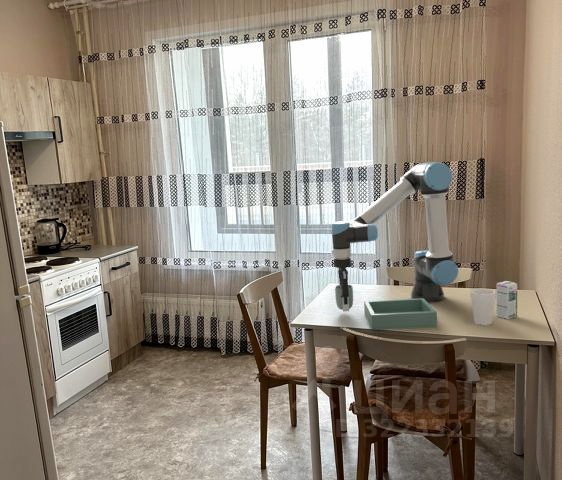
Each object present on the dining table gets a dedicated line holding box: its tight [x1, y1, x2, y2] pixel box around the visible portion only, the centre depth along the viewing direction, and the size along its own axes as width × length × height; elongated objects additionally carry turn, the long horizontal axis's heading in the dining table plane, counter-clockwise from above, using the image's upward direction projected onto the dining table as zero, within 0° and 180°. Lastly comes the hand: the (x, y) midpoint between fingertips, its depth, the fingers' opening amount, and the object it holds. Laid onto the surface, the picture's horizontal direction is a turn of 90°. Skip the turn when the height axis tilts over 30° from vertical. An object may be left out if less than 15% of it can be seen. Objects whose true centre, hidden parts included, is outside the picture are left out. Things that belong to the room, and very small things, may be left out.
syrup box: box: [495, 280, 518, 320], centre depth 208 cm, size 6×6×14 cm
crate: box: [363, 298, 438, 330], centre depth 212 cm, size 26×20×6 cm
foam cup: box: [469, 287, 497, 326], centre depth 202 cm, size 10×9×13 cm
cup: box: [334, 284, 354, 311], centre depth 221 cm, size 8×8×10 cm
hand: (344, 308), depth 222 cm, fingers closed on cup, 8 cm apart
